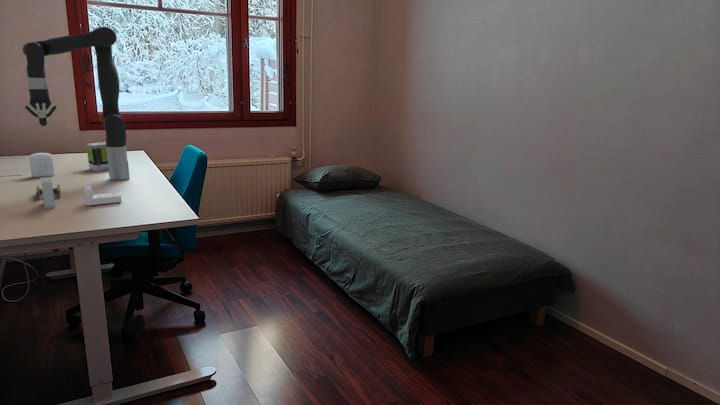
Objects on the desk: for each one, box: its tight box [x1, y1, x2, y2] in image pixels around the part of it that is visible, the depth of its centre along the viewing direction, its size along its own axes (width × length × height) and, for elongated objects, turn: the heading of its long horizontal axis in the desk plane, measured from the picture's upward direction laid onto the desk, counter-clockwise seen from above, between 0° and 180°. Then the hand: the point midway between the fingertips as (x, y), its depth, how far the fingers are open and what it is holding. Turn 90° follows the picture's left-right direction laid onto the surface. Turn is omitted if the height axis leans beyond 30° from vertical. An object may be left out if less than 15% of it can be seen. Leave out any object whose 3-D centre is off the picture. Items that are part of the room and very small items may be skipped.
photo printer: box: [29, 152, 56, 178], centre depth 253 cm, size 10×4×12 cm, turn 123°
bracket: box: [83, 185, 123, 206], centre depth 206 cm, size 13×7×8 cm, turn 123°
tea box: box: [85, 141, 109, 172], centre depth 276 cm, size 15×10×15 cm, turn 135°
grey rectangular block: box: [39, 176, 56, 210], centre depth 200 cm, size 4×10×11 cm, turn 35°
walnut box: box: [35, 184, 61, 201], centre depth 216 cm, size 9×14×4 cm, turn 31°
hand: (43, 125), depth 226 cm, fingers closed
